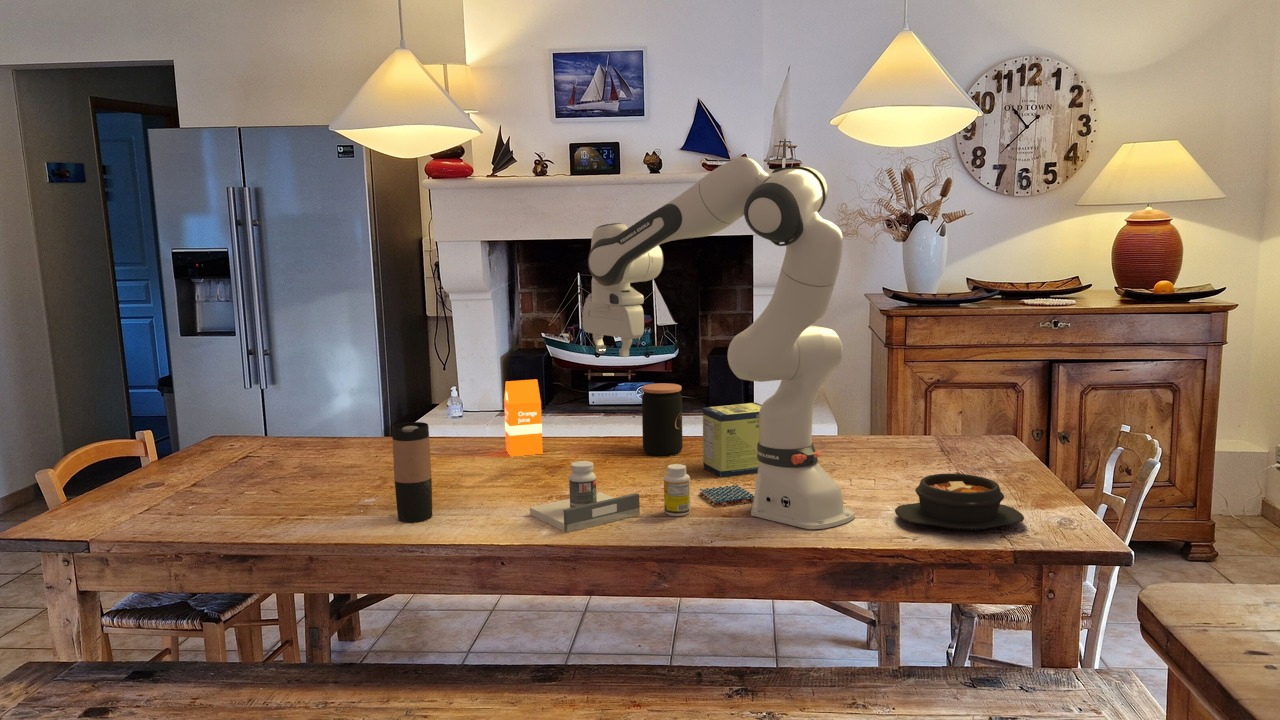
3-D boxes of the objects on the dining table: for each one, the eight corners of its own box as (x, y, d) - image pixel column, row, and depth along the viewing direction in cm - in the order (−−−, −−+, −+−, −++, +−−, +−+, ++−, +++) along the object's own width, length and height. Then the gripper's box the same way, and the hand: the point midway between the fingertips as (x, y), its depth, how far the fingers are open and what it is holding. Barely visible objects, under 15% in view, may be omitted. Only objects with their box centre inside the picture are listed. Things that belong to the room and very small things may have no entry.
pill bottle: (600, 511, 194) (598, 465, 193) (573, 514, 192) (572, 468, 191) (592, 504, 200) (591, 459, 198) (567, 507, 198) (565, 461, 196)
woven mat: (715, 510, 201) (715, 501, 200) (697, 497, 211) (696, 488, 210) (759, 504, 204) (759, 496, 204) (739, 492, 214) (739, 483, 214)
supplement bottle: (670, 507, 201) (669, 462, 200) (694, 510, 199) (693, 464, 198) (660, 515, 196) (659, 468, 195) (684, 518, 194) (684, 470, 193)
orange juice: (505, 451, 255) (502, 379, 252) (537, 448, 258) (535, 377, 255) (510, 457, 248) (507, 383, 245) (543, 454, 250) (540, 381, 247)
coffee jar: (683, 457, 245) (682, 389, 242) (642, 457, 245) (641, 390, 243) (682, 447, 256) (681, 382, 253) (643, 447, 256) (642, 383, 253)
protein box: (776, 470, 230) (777, 409, 228) (720, 478, 224) (720, 414, 222) (756, 461, 240) (756, 401, 237) (701, 468, 234) (701, 407, 232)
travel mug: (418, 510, 203) (413, 420, 200) (441, 516, 198) (436, 424, 196) (389, 518, 197) (383, 426, 194) (411, 525, 193) (406, 431, 190)
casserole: (907, 538, 180) (908, 496, 178) (885, 509, 198) (886, 471, 197) (1038, 537, 179) (1040, 495, 177) (1004, 508, 197) (1005, 469, 196)
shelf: (640, 515, 197) (639, 494, 196) (567, 532, 186) (567, 511, 186) (600, 499, 209) (599, 479, 208) (530, 514, 198) (529, 494, 198)
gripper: (575, 293, 220) (576, 351, 222) (625, 298, 203) (626, 360, 205) (597, 292, 223) (598, 349, 225) (648, 296, 207) (649, 357, 209)
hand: (612, 354), depth 215 cm, fingers open, 8 cm apart
